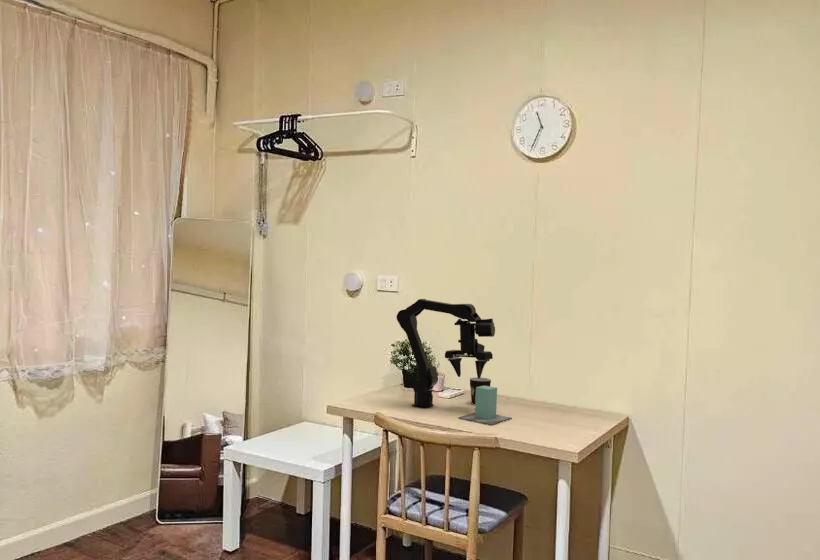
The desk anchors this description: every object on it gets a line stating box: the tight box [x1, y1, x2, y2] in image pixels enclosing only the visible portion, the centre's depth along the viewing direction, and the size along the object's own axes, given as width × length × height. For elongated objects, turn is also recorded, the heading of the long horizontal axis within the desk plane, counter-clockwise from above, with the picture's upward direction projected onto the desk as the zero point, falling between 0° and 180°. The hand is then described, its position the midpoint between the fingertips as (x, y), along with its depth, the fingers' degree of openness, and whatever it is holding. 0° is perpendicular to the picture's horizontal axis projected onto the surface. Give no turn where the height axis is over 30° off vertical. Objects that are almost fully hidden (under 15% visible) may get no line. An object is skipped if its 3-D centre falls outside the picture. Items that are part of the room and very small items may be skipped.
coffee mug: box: [469, 377, 492, 405], centre depth 273 cm, size 12×9×10 cm
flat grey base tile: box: [458, 412, 513, 426], centre depth 245 cm, size 14×14×5 cm
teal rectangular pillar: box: [474, 385, 498, 420], centre depth 244 cm, size 6×6×11 cm
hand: (469, 377), depth 256 cm, fingers open, 9 cm apart
